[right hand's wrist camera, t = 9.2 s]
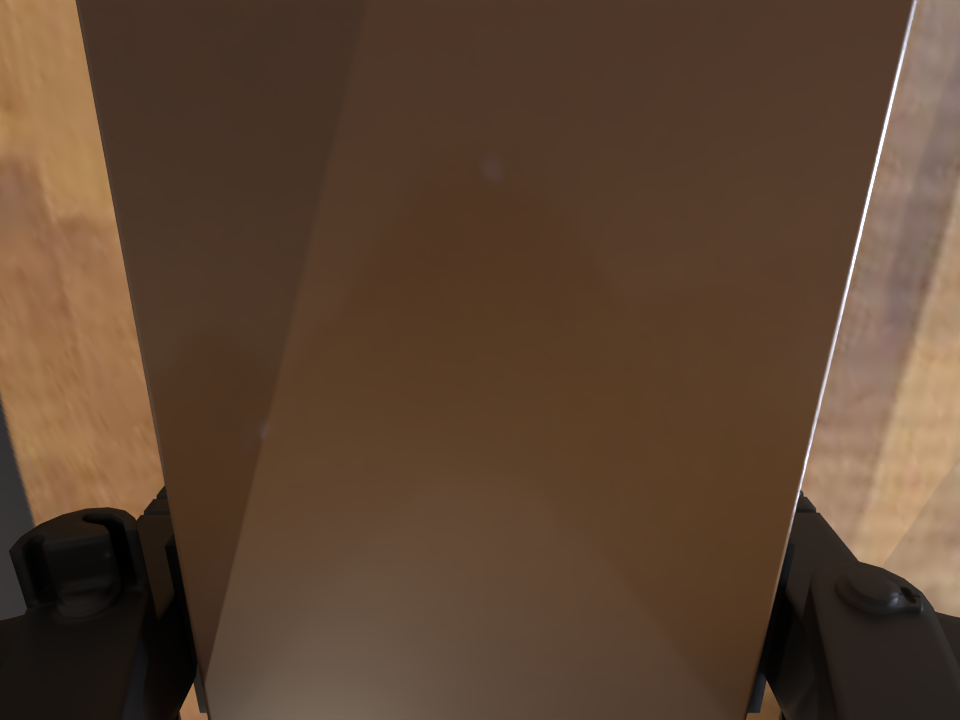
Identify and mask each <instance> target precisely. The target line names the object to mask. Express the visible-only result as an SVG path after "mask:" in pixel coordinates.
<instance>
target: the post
mask: <svg viewBox="0 0 960 720" xmlns="http://www.w3.org/2000/svg"><path fill="white" fill-rule="evenodd" d="M916 2H917V0H76V5H77V10H78V16H79V21H80V27H81V32H82V38H83V43H84V48H85V54H86V59H87V65H88V70H89V75H90V81H91V86H92V92H93V97H94V103H95V108H96V113H97V119H98V124H99V130H100V135H101V140H102V146H103V151H104V157H105V162H106V168H107V173H108V178H109V184H110V189H111V195H112V200H113V206H114V211H115V216H116V222H117V227H118V233H119V238H120V243H121V249H122V254H123V260H124V265H125V271H126V276H127V281H128V287H129V292H130V298H131V303H132V309H133V314H134V319H135V325H136V330H137V336H138V341H139V346H140V352H141V357H142V363H143V368H144V374H145V379H146V384H147V390H148V395H149V401H150V406H151V412H152V417H153V422H154V428H155V433H156V439H157V444H158V449H159V455H160V460H161V466H162V471H163V477H164V482H165V487H166V493H167V498H168V504H169V509H170V515H171V520H172V525H173V531H174V536H175V542H176V547H177V552H178V558H179V563H180V569H181V574H182V580H183V585H184V590H185V596H186V601H187V607H188V612H189V618H190V623H191V628H192V634H193V639H194V645H195V650H196V655H197V661H198V666H199V672H200V677H201V683H202V688H203V693H204V699H205V704H206V710H207V715H208V720H746V716H747V712H748V708H749V704H750V700H751V695H752V691H753V687H754V683H755V679H756V674H757V670H758V666H759V662H760V658H761V653H762V649H763V645H764V641H765V637H766V632H767V628H768V624H769V620H770V616H771V611H772V607H773V603H774V599H775V595H776V590H777V586H778V582H779V578H780V574H781V569H782V565H783V561H784V557H785V553H786V548H787V544H788V540H789V536H790V532H791V527H792V523H793V519H794V515H795V511H796V506H797V502H798V498H799V494H800V490H801V485H802V481H803V477H804V473H805V469H806V464H807V460H808V456H809V452H810V448H811V443H812V439H813V435H814V431H815V427H816V422H817V418H818V414H819V410H820V405H821V401H822V397H823V393H824V389H825V384H826V380H827V376H828V372H829V368H830V363H831V359H832V355H833V351H834V347H835V342H836V338H837V334H838V330H839V326H840V321H841V317H842V313H843V309H844V305H845V300H846V296H847V292H848V288H849V284H850V279H851V275H852V271H853V267H854V263H855V258H856V254H857V250H858V246H859V242H860V237H861V233H862V229H863V225H864V221H865V216H866V212H867V208H868V204H869V200H870V195H871V191H872V187H873V183H874V179H875V174H876V170H877V166H878V162H879V158H880V153H881V149H882V145H883V141H884V137H885V132H886V128H887V124H888V120H889V116H890V111H891V107H892V103H893V99H894V95H895V90H896V86H897V82H898V78H899V74H900V69H901V65H902V61H903V57H904V53H905V48H906V44H907V40H908V36H909V32H910V27H911V23H912V19H913V15H914V10H915V6H916Z"/></svg>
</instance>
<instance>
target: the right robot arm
mask: <svg viewBox="0 0 960 720" xmlns="http://www.w3.org/2000/svg"><path fill="white" fill-rule="evenodd" d="M9 553H10V556H11V559H12V562H13V565H14V568H15V571H16V574H17V578H18V580H19V584H20V587H21V590H22V593H23V596H24V599H25V603H26V606H27V610H26V612H25V615H21V616H18V617H14V618H10V619H6V620H1V621H0V720H181V716H180V712H179V711H180V709H181V707H182V704H183V702H184V700H185V698H186V696H187V694H188V692H189V690H190V688H191V686H192V684H193V682H194V687H195V692H196V696H197V701H198V706H199V710H200V713H207V710H206V704H205V699H204V693H203V688H202V683H201V677H200V672H199V666H198V661H197V655H196V650H195V645H194V639H193V634H192V628H191V623H190V618H189V612H188V607H187V601H186V596H185V590H184V585H183V580H182V574H181V569H180V563H179V558H178V552H177V547H176V542H175V536H174V531H173V525H172V520H171V515H170V509H169V504H168V498H167V493H166V487H165V486H164V487H163V488H162V489H161V491H160V492H159V493H158V494H157V499H153V501H152V502H151V503H150V504H149V506H148V507H147V508H146V509H145V511H144V515H141V516H140V517H139V518H138V519H137V520H136V519H135V518H134V517H133V516H132V515H130V514H129V513H128V512H126V511H125V510H120V509H114V508H109V507H106V508H89V509H83V510H79V511H75V512H71V513H67V514H63V515H61V516H58V517H56V518H54V519H51V520H49V521H46V522H44V523H42V524H40V525H38V526H37V527H35V528H34V529H32V530H31V531H29V532H28V533H26V534H25V535H23V536H22V537H20V539H19V540H18V541H17V542H16V543H15V544H14V546H13V547H12V548H11V549H10V550H9ZM766 680H767V681H768V683H769V685H770V688H771V690H772V692H773V694H774V696H775V698H776V700H777V702H778V704H779V706H780V708H781V712H780V716H779V720H960V618H959V617H954V616H949V615H945V614H942V613H938V612H935V611H934V609H933V607H932V605H931V604H930V603H929V601H928V600H927V599H926V597H925V596H924V595H923V593H922V592H921V591H919V590H918V589H917V588H916V587H914V586H913V585H912V584H910V583H909V582H908V581H906V580H905V579H904V578H902V577H900V576H898V575H895V574H893V573H891V572H889V571H887V570H885V569H883V568H880V567H877V566H873V565H869V564H866V563H862V562H859V561H858V560H857V559H856V557H855V556H854V555H853V554H852V552H851V551H850V550H849V549H848V547H847V546H846V545H845V544H844V543H843V541H842V540H841V539H840V538H839V536H838V535H837V534H836V533H835V531H834V530H833V529H832V528H831V527H830V525H829V524H828V523H827V522H826V520H825V519H824V518H823V517H822V515H821V514H820V513H816V508H815V507H814V506H813V504H812V503H811V502H810V501H809V499H808V498H807V497H804V496H803V492H802V491H801V490H800V494H799V498H798V502H797V506H796V511H795V515H794V519H793V523H792V527H791V532H790V536H789V540H788V544H787V548H786V553H785V557H784V561H783V565H782V569H781V574H780V578H779V582H778V586H777V590H776V595H775V599H774V603H773V607H772V611H771V616H770V620H769V624H768V628H767V632H766V637H765V641H764V645H763V649H762V653H761V658H760V662H759V666H758V670H757V674H756V679H755V683H754V687H753V691H752V695H751V700H750V704H749V708H748V712H747V713H760V709H761V704H762V699H763V694H764V690H765V685H766Z"/></svg>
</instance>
